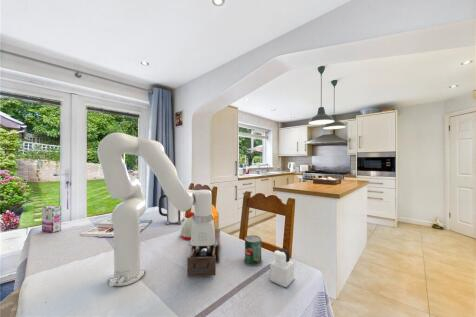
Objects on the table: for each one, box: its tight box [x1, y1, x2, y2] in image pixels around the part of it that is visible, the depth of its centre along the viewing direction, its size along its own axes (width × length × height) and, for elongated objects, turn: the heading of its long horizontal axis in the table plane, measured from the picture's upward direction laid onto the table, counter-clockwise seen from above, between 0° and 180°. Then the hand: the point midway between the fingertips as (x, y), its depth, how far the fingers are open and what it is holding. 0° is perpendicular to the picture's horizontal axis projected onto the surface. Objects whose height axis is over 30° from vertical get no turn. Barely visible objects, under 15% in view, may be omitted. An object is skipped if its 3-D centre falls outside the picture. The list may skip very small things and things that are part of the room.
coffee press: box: [158, 194, 185, 225], centre depth 152 cm, size 17×16×30 cm
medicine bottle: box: [269, 248, 295, 288], centre depth 81 cm, size 7×7×12 cm
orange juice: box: [212, 204, 220, 229], centre depth 122 cm, size 8×9×20 cm
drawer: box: [186, 246, 217, 277], centre depth 88 cm, size 21×12×7 cm, turn 3°
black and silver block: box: [199, 248, 207, 257], centre depth 89 cm, size 7×4×4 cm, turn 3°
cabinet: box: [190, 228, 221, 263], centre depth 103 cm, size 18×13×9 cm
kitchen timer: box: [180, 211, 195, 241], centre depth 127 cm, size 14×14×15 cm
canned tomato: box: [244, 234, 262, 267], centre depth 95 cm, size 8×8×11 cm
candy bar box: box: [41, 205, 62, 234], centre depth 134 cm, size 11×5×16 cm, turn 73°
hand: (203, 259), depth 88 cm, fingers closed on black and silver block, 3 cm apart
